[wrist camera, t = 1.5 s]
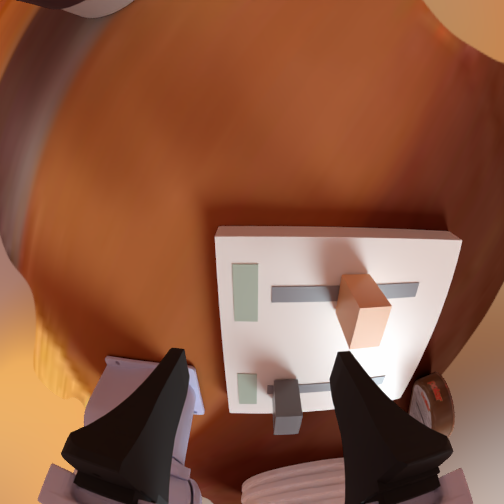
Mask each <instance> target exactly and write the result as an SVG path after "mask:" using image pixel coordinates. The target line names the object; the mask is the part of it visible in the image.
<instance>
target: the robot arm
mask: <svg viewBox="0 0 504 504" xmlns="http://www.w3.org/2000/svg"><path fill="white" fill-rule="evenodd" d="M105 361H106V364H107V366H106V368H105V370H104V372H103V374H102V376H101V378H100V380H99V382H98V383H97V385H96V387H95V389H94V391H93V393H92V395H91V397H90V399H89V402H88V404H87V406H86V409H85V415H84V427H82V428H80V429H78V430H76V431H74V432H71V433H70V435H69V437H68V438H67V441H66V443H65V445H64V448H63V450H62V452H61V455H62V457H63V458H64V459H65V460H66V461H67V462H68V463H69V464H70V465H72V466H73V467H74V468H75V470H74V472H73V473H72V472H70V471H68V470H66V469H63V468H61V467H59V466H57V465H55V464H51V466H50V468H49V471H48V474H47V476H46V478H45V481H44V484H43V486H42V489H41V492H40V494H39V497H38V501H39V502H41V503H42V504H202V497H201V492H200V490H199V487H198V485H197V483H196V482H195V481H194V480H193V479H191V478H189V477H190V471H191V469H189V468H187V467H184V462H185V457H186V451H187V445H188V440H189V434H190V429H191V423H192V418H193V414H198V415H202V414H204V411H205V410H204V406H203V401H202V397H201V393H200V388H199V383H198V379H197V374H196V369H195V368H194V367H193V366H188V365H187V361H186V356H185V351H184V349H179V348H171V349H170V350H169V351H168V353H167V354H166V355H165V357H164V358H163V359H162V361H161V362H160V363H156V362H148V361H140V360H132V359H125V358H119V357H112V356H106V358H105ZM329 380H330V388H331V396H332V401H333V405H334V409H335V413H336V417H337V421H338V425H339V429H340V433H341V438H342V445H343V455H344V468H345V504H473V501H472V497H471V494H470V491H469V488H468V485H467V482H466V479H465V476H464V473H463V470H462V469H461V468H459V469H457V470H455V471H453V472H450V473H448V474H446V475H444V476H442V477H440V478H438V475H437V474H438V473H439V472H440V470H439V468H438V466H440V465H441V464H442V463H443V462H444V461H445V460H446V459H448V458H449V457H450V456H451V454H452V452H453V449H452V446H451V444H450V441H449V439H448V437H447V436H446V435H444V434H441V433H439V432H437V431H435V430H433V429H431V428H429V427H427V426H426V425H424V424H422V423H421V422H419V421H418V420H416V419H415V418H413V417H412V416H410V415H409V414H408V413H406V412H405V411H404V410H402V409H401V408H400V407H399V406H398V405H397V404H395V403H394V402H393V401H392V400H391V399H390V398H389V397H388V396H387V395H386V394H385V393H384V392H383V391H382V390H381V389H380V388H379V387H378V385H377V384H376V383H375V382H374V381H373V380H372V378H371V377H370V376H369V375H368V374H367V372H366V371H365V370H364V369H363V367H362V366H361V365H360V364H359V362H358V361H357V360H356V358H355V357H354V356H353V354H352V353H351V352H350V351H341V352H337V356H336V359H335V363H334V366H333V369H332V372H331V376H330V379H329Z"/></svg>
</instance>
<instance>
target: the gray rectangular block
mask: <svg viewBox="0 0 504 504" xmlns="http://www.w3.org/2000/svg"><path fill="white" fill-rule="evenodd" d="M272 406H273V429H274V435H285V434H298V432H299V428H300V424H301V421H302V417H303V414H302V407H301V399H300V392H299V385H298V379H295V380H274V385H273V397H272Z"/></svg>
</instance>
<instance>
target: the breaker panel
mask: <svg viewBox="0 0 504 504" xmlns="http://www.w3.org/2000/svg"><path fill="white" fill-rule="evenodd" d="M461 244H462V240H461V239H460V238H458V237H457V236H455V235H454V234H452V233H451V232H449V231H435V230H414V229H389V228H358V227H311V226H219V227H218V229H217V232H216V235H215V251H216V267H217V282H218V296H219V309H220V321H221V333H222V344H223V355H224V365H225V375H226V385H227V394H228V403H229V411H230V413H273V406H272V397H273V385H274V380H295V379H298V385H299V392H300V399H301V407H302V412H308V411H320V410H330V409H334V405H333V401H332V396H331V388H330V380H329V379H330V376H331V372H332V369H333V366H334V363H335V359H336V356H337V352H341V351H350V352H351V353H352V354H353V356H354V357H355V358H356V360H357V361H358V362H359V364H360V365H361V366H362V367H363V369H364V370H365V371H366V372H367V374H368V375H369V376H370V377H371V378H372V380H373V381H374V382H375V383H376V384H377V385H378V387H379V388H380V389H381V390H382V391H383V392H384V393H385V394H386V395H387V396H388V397H389V398H390V399H391V400H394V399H399V398H401V396H402V394H403V392H404V391H405V389H406V387H407V385H408V383H409V381H410V379H411V378H412V376H413V374H414V372H415V370H416V368H417V366H418V364H419V362H420V360H421V357H422V355H423V353H424V351H425V349H426V347H427V344H428V342H429V340H430V337H431V335H432V333H433V330H434V328H435V325H436V323H437V320H438V318H439V315H440V313H441V310H442V307H443V304H444V302H445V299H446V296H447V293H448V290H449V287H450V284H451V280H452V277H453V274H454V270H455V267H456V263H457V260H458V256H459V252H460V248H461ZM345 274H370V275H371V277H372V278H373V280H374V281H375V282H376V284H377V285H378V287H379V288H380V290H381V291H382V292H383V294H384V295H385V297H386V298H387V300H388V301H389V303H390V304H391V305H392V308H391V311H390V314H389V318H388V321H387V324H386V327H385V330H384V334H383V337H382V340H381V342H380V345H379V346H378V347H369V348H359V349H349V347H348V344H347V342H346V339H345V336H344V334H343V331H342V328H341V326H340V323H339V321H338V318H337V316H336V313H335V311H336V306H337V300H338V294H339V288H340V282H341V276H342V275H345Z"/></svg>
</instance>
